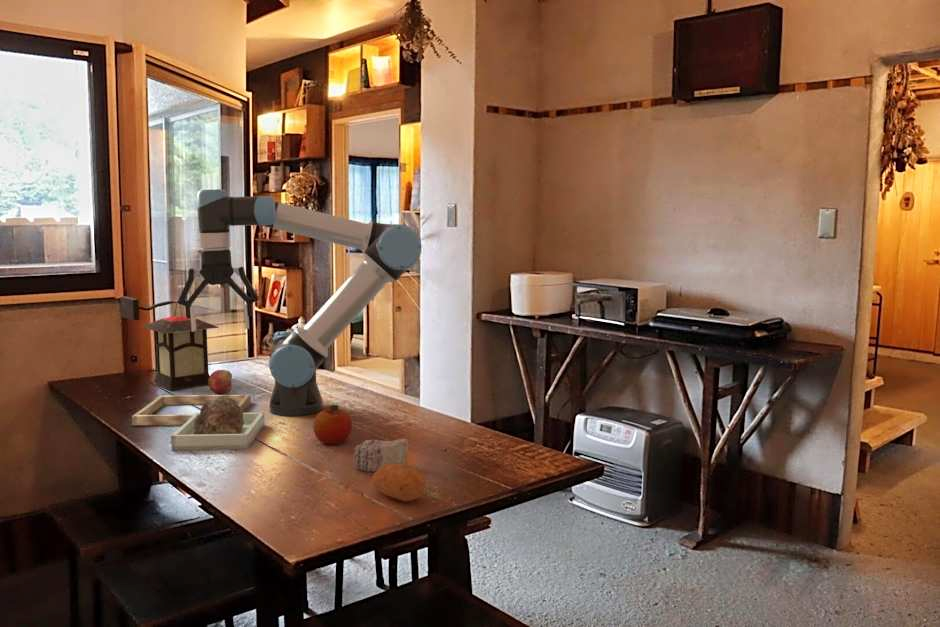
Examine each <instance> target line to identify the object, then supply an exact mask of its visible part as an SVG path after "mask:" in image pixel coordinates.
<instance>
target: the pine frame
mask: <svg viewBox="0 0 940 627" xmlns="http://www.w3.org/2000/svg"><path fill="white" fill-rule="evenodd" d="M219 398H223V399H225V398H232V399H234V400H235V402H236V404H238V406H239V407H240V408H241V409H242V411H243V412H244V411H245V410H247V408H248V407H249V406H250V404H251V403H252V395H251V394H225V395H217V394H195V395H193V394H191V395H189V394H188V395H187V394H186V395H181V394H180V395H159V396H158V397H157V398H155V399H154V400H152V401H151V402H150V403H148V404H147V405H145V406H144V407H142V409H140V410H139V411H137V412H136V413H134V414H133V415H132V416H131V421H132V422H131V426H178V425H180V426H182V425H184V424H185V423H186V422H187V421H188V420H189V419H190V418H191V417H192V416H193V415H194V414H195V413H192V414H189V413H187V414H185V413H184V414H154V413H155V412H156V411H158V410H159V409H160V408H162V407H163V406H167V405H169V406H173V405H175V406H176V405H177V406H179V405H180V406H182V405H183V406H184V405H185V404H189V405H203V404H205V403H206V402H209V401H213V400H217V399H219Z"/></svg>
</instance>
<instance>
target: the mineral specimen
mask: <svg viewBox="0 0 940 627" xmlns="http://www.w3.org/2000/svg"><path fill="white" fill-rule="evenodd" d="M409 448H410V445H409V440H408V439H406V438H397V439H396V440H395V439H394V440H391V441H390V440H379V439H367V440H365V441H363V442H361V443H359V444H358V445H356V446H354V449H353V450H354V452H353V458H352V459H353V464H354V466H355V469H357V470H360V471H364V472H368V473H369V472H372V473H373V472H376V471H377V470H378V469H379V468H381V467H383V466H385V465H389V464H402V465H405V466H406V462H407V460H408V457H409V450H410V449H409Z"/></svg>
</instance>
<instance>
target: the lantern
mask: <svg viewBox="0 0 940 627" xmlns="http://www.w3.org/2000/svg"><path fill="white" fill-rule="evenodd" d="M119 299H120V300H119V301H120V315H121V317H122V318H124V319H128V320H132V321H140V319H141V318H140V310H142V311H148V312H149V311H152V310H154V309H156V308H158V307H164V306H167V305H172V304H175V308H177V305H178V300H177V301H172V300H171V301H170V300H166V301H162V302H158V303H155V304H152V305H151V306H148V307H143V306H140V304H139V300H140V299H138V298H133V297H131V296H130V297H129V296H120V298H119ZM181 306H182V305H179V308H180V309H179V310H182V307H181ZM176 310H177V309H175V311H174V312H175V313H174V316H169V317H164V318H163V317H162V318H160V319H157V320H155V321H152V322H149V323H147V324H145V325H141V328H144V329H148V330H151V331H154V335H155V337H154V339H155V356H156V360H155V361H156V374H155V378H154V382H153V383H154V384H155V385H156V386H159V387H162V388H164V389H166V390H167V391H170V392H173V391H174V392H175V391H180V390H181V391H182V390H188V388H189V389H195V388H200V387H202V388H203V387H207V386H208V387H209V385H208V379H209V377H210V374H209V357H208V355H209V354H208V333H207V332H208V331H207V330H208V329H209V330H210V329H211V330H213V329H219V328H220V326H217V325H214V324H211V323H210V322H207V321H204V320H202V319H199V318H196V331H193V332H192V329H191V319H187V317H186V315H183V314H182V313H183V311H180V314H181V315H176V314H177V313H176V312H177V311H176Z"/></svg>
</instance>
